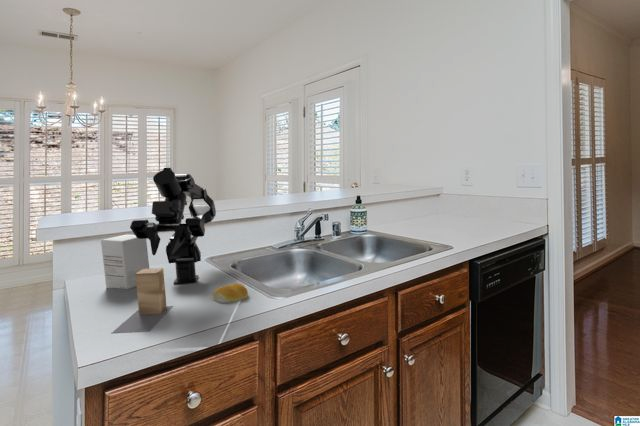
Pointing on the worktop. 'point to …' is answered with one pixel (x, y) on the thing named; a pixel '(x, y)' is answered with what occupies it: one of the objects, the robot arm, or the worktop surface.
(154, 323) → the mat
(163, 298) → the oak block
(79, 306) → the worktop surface
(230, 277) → the worktop surface
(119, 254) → the supplement box
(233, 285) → the bread roll
